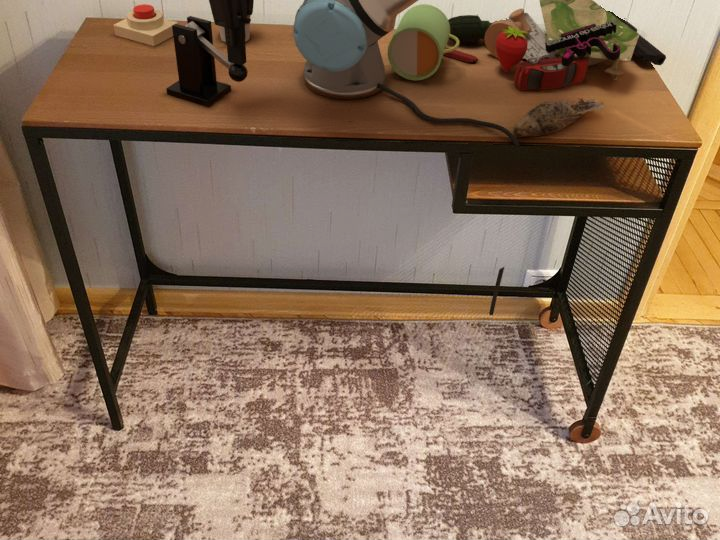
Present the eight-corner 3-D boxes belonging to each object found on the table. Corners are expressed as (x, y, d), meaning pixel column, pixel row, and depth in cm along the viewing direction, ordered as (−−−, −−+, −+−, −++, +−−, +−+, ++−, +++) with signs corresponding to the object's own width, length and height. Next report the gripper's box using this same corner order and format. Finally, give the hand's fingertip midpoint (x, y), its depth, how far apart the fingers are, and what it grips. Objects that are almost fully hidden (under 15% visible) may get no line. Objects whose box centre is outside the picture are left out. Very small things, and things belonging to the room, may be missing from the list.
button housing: (179, 32, 149) (177, 13, 146) (154, 46, 143) (151, 27, 141) (141, 22, 152) (138, 3, 149) (115, 35, 146) (111, 16, 144)
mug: (399, 55, 146) (387, 80, 137) (399, 3, 140) (387, 26, 131) (461, 58, 144) (454, 84, 135) (464, 6, 137) (456, 29, 128)
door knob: (499, 6, 149) (515, 41, 153) (478, 29, 144) (494, 64, 147) (532, -6, 143) (548, 30, 147) (511, 18, 138) (528, 54, 142)
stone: (572, 51, 143) (524, 62, 142) (570, 66, 146) (523, 77, 145) (527, 4, 158) (484, 14, 157) (526, 19, 161) (484, 28, 160)
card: (552, -15, 154) (552, -18, 153) (671, 2, 141) (672, -2, 140) (502, 46, 144) (501, 43, 143) (625, 70, 131) (625, 66, 131)
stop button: (159, 15, 146) (158, 7, 145) (146, 22, 143) (145, 13, 142) (143, 11, 147) (142, 2, 146) (130, 17, 144) (128, 9, 143)
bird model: (503, 106, 120) (497, 132, 123) (530, 121, 117) (523, 148, 120) (585, 80, 130) (577, 105, 134) (611, 93, 127) (603, 119, 130)
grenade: (442, 43, 152) (497, 45, 154) (448, 42, 146) (506, 43, 148) (443, 15, 151) (499, 17, 152) (450, 13, 145) (508, 14, 146)
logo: (611, 18, 137) (635, 46, 130) (610, 25, 138) (634, 54, 132) (543, 39, 137) (564, 69, 131) (543, 47, 138) (564, 76, 132)
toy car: (516, 54, 135) (527, 66, 131) (586, 53, 139) (599, 65, 135) (508, 80, 138) (519, 94, 135) (577, 79, 142) (589, 92, 139)
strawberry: (515, 62, 145) (524, 13, 138) (526, 79, 139) (537, 29, 133) (486, 62, 144) (495, 13, 137) (497, 80, 138) (506, 29, 132)
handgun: (696, 74, 150) (640, 66, 144) (621, 17, 170) (569, 8, 164) (705, 58, 148) (648, 49, 142) (628, 2, 168) (576, -7, 162)
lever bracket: (231, 91, 131) (226, 22, 122) (208, 107, 126) (201, 36, 117) (190, 79, 134) (182, 10, 125) (166, 94, 129) (156, 24, 120)
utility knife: (474, 64, 143) (478, 61, 145) (475, 59, 143) (479, 56, 144) (422, 49, 148) (427, 46, 149) (423, 44, 147) (427, 41, 148)
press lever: (247, 81, 125) (253, 68, 123) (236, 88, 123) (243, 75, 121) (189, 32, 125) (195, 17, 122) (178, 38, 123) (183, 24, 120)
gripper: (230, -103, 112) (240, 43, 127) (178, -84, 103) (195, 71, 118) (272, -95, 109) (276, 53, 125) (221, -74, 100) (233, 82, 116)
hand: (237, 61), depth 122 cm, fingers closed
